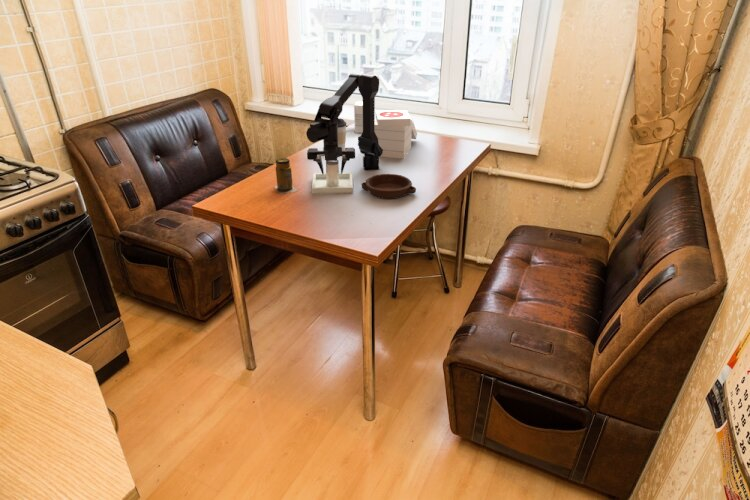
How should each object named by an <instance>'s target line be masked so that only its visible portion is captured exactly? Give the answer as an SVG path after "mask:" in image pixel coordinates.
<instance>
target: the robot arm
mask: <svg viewBox="0 0 750 500" xmlns="http://www.w3.org/2000/svg"><path fill="white" fill-rule="evenodd" d="M357 88H358V92H359V94H360V95H361V97H362V101H363V133H360V134H361V135H359V136H358V137H357V140H358V141H357V146H358V149H359V151H360V154H363V156H362V167H363V168H364V170H367V171H368V170H370V171H373V170H374V171H377V170H380V165H379V164H380V159H379V158H380V157H381V155H382V153H383V149H382V148H381V147H380V146H379V143H378V137H377V136H376V134H375V131H374V124H375V123H376V121H375V120H376V110H375V104H376V103H375V102H376V101H375V99H376V96H377V94H378V92H379V88H380V78H379V77H378V76H377V75H375V74H374V75H372V74H367V73H362V74H360V73H354V72H353V73H350V74H349V75H348V77H347V79H346V80H345V81H344V83H343V84H342V85H341V86H340V87H339V88H338V89H337V91H336V92H335V93H334V94H333V95H332V96H330V97H328V98H326V99H325V100H324V101H322V102H321V103H320V105H319V106H318V110H317V112H316V115H315V117H314V120H313V122H314V123H313V122H312V123H310V124H309V127H308V128H307V130H306V132H305V135H306V137H307V139H308V141H309V142H311V143H313V144H314V143H317V142H320V141H323V147H322V149H323V150H318V147H317V148H315V147H314V148H310V147H309V148H308V149H307V153H306V156H307V160H309V161H313V162H316V163H317V166H318V168H319V169H320V173H322V174H324V173H325V172H324V164H323V159H322V157H324V160H325V162H326V161H329V160H333V161H336V160H338V158H340V157H341V165H340V173H341V174H342V173H344V169H345V166H346V164H347V162H348V161H350V160H352V159H353V160H355V159H356V149H355V148H354V147H345V151H342V147H338V125H337V123H340V122H341V120H340V119H341V118H339V117H340V115H341V114H342V112H343V107H344V105H345V103H346V102H347V101H348V100H349V98H351V96H352V94H353V93H354V92H356V90H357Z"/></svg>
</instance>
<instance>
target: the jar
mask: <svg viewBox="0 0 750 500" xmlns="http://www.w3.org/2000/svg"><path fill="white" fill-rule="evenodd" d="M339 165H340V164H339V159H337V160H336V161H333V160H329V161H326V160H325V173H326V182H327V186H329V187H336V186H338V185H339V173H340V172H339Z"/></svg>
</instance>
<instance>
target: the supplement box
mask: <svg viewBox="0 0 750 500" xmlns="http://www.w3.org/2000/svg"><path fill="white" fill-rule="evenodd" d="M353 108H354V109H353V110H354V112H353V113H354V116H353V117H354V134H362V133H363V100H360V101H359V100H357V101H356V102H355V104H354V106H353Z"/></svg>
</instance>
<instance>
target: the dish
mask: <svg viewBox="0 0 750 500" xmlns="http://www.w3.org/2000/svg"><path fill="white" fill-rule="evenodd" d="M412 185H413V183H412V181H411V180H410V179H409V177H406V176H404V175H400V174H396V173H395V174H394V173H381V174H380V173H379V174H374V175H372V176H369V177H368V178H367V179H365V181H363V182H362V183H361V188H362V190H365V191H368V192H369V193H370V195H372V196H373V197H375V198H378V199H384V200H393V199H398V198H401V197H403V196H405V195H409V194H410V195H411V194H415V193H416V191H417V188H416V187H414V186H412Z"/></svg>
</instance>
